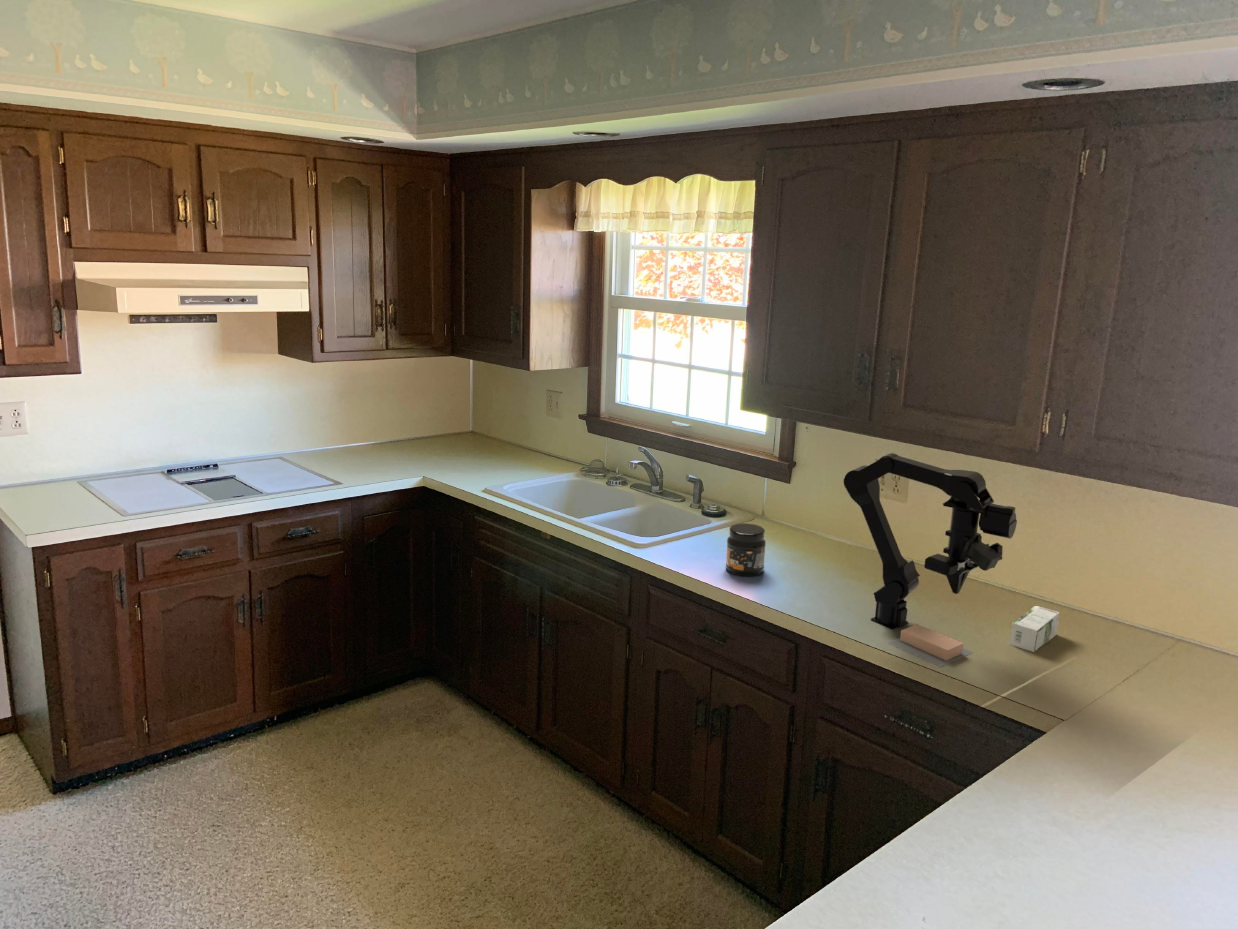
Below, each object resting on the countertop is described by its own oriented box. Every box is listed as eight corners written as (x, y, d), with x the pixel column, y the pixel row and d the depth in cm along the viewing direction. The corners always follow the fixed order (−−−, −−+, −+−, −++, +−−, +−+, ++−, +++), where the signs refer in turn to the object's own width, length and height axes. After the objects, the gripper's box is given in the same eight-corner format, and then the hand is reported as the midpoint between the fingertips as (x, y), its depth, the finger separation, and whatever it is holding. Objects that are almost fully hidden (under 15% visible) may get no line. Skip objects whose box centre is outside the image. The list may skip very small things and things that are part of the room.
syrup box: (1008, 645, 207) (1031, 626, 217) (1035, 654, 203) (1057, 634, 213) (1011, 622, 205) (1034, 604, 216) (1038, 630, 201) (1060, 611, 212)
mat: (887, 644, 206) (887, 642, 206) (919, 631, 213) (919, 629, 213) (941, 668, 195) (941, 667, 195) (972, 654, 202) (972, 652, 202)
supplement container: (717, 567, 249) (719, 526, 246) (746, 560, 255) (749, 520, 252) (742, 580, 241) (745, 537, 238) (772, 572, 247) (775, 531, 243)
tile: (915, 634, 211) (899, 640, 207) (917, 623, 210) (901, 630, 206) (961, 654, 201) (946, 661, 198) (963, 643, 201) (947, 650, 197)
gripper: (972, 546, 190) (963, 615, 194) (1020, 530, 201) (1011, 595, 205) (926, 532, 198) (919, 598, 202) (975, 517, 209) (967, 580, 213)
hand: (955, 593), depth 205 cm, fingers closed
